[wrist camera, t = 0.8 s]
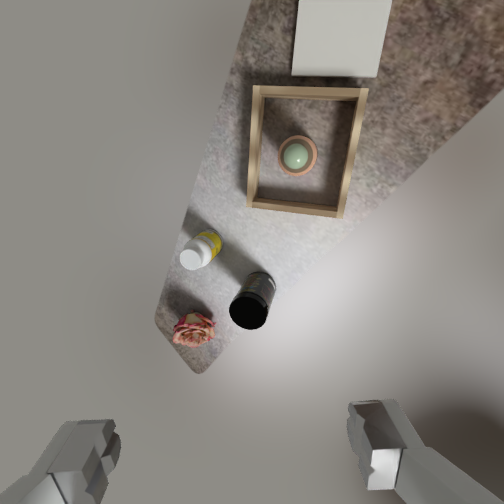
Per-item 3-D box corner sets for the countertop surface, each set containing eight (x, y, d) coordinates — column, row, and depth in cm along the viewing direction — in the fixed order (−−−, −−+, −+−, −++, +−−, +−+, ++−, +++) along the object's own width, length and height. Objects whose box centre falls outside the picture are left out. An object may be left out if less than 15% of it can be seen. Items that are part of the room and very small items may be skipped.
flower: (168, 317, 63) (167, 350, 58) (180, 296, 57) (180, 331, 52) (206, 321, 67) (209, 352, 62) (221, 302, 62) (225, 334, 57)
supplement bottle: (211, 258, 56) (190, 279, 47) (194, 239, 56) (169, 257, 47) (229, 243, 54) (210, 262, 45) (210, 223, 53) (188, 238, 44)
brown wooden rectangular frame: (259, 90, 43) (253, 85, 39) (364, 93, 39) (368, 88, 36) (252, 202, 50) (246, 206, 46) (341, 213, 46) (342, 218, 43)
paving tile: (302, -28, 36) (302, -32, 35) (398, -34, 34) (399, -38, 33) (292, 76, 41) (291, 75, 40) (375, 77, 38) (376, 76, 38)
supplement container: (238, 280, 56) (221, 306, 47) (263, 264, 54) (250, 289, 44) (257, 304, 57) (244, 335, 48) (283, 290, 55) (274, 320, 45)
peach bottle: (288, 136, 44) (276, 133, 33) (320, 138, 43) (318, 135, 32) (284, 169, 46) (272, 176, 35) (315, 171, 45) (312, 180, 34)
